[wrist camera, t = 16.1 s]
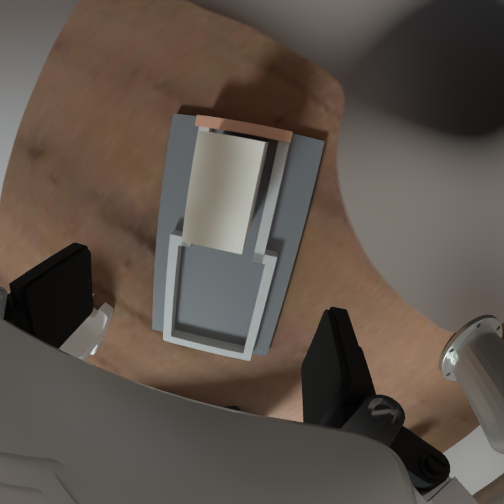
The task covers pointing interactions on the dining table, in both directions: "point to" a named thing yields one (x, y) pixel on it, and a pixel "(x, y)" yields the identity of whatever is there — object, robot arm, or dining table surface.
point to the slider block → (223, 190)
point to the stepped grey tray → (227, 263)
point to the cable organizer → (89, 333)
